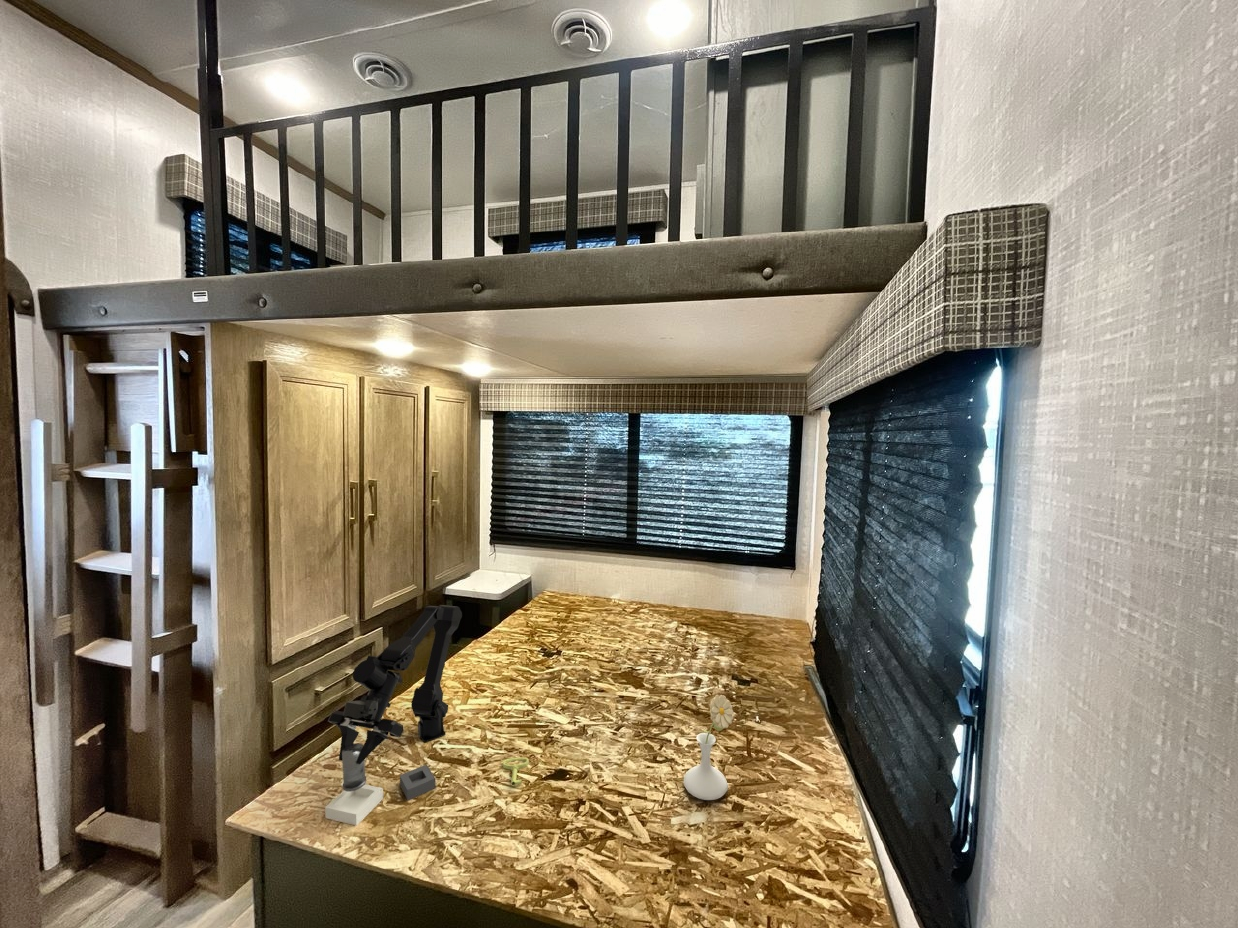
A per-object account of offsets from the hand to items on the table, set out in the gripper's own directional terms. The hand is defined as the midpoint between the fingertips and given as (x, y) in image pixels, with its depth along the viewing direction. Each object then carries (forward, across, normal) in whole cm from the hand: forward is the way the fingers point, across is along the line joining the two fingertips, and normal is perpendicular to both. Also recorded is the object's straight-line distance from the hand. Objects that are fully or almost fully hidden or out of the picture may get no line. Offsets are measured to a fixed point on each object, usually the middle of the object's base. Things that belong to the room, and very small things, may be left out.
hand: (349, 761), depth 123 cm
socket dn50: (+8, 0, +10) cm, 13 cm away
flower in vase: (-12, +84, +31) cm, 91 cm away
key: (-7, +32, +26) cm, 42 cm away
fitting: (+4, 0, +6) cm, 7 cm away
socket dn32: (+1, +10, +17) cm, 20 cm away
